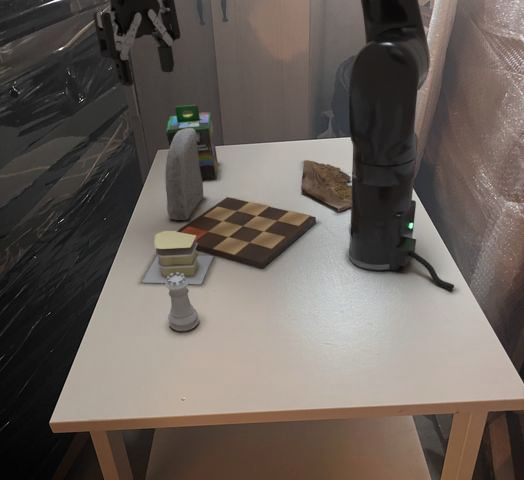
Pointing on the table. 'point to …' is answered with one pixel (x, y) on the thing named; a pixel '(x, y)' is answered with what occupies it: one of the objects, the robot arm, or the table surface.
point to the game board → (247, 231)
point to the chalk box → (204, 137)
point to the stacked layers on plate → (177, 258)
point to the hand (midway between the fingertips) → (148, 78)
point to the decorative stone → (183, 175)
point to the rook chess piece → (180, 304)
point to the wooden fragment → (327, 184)
